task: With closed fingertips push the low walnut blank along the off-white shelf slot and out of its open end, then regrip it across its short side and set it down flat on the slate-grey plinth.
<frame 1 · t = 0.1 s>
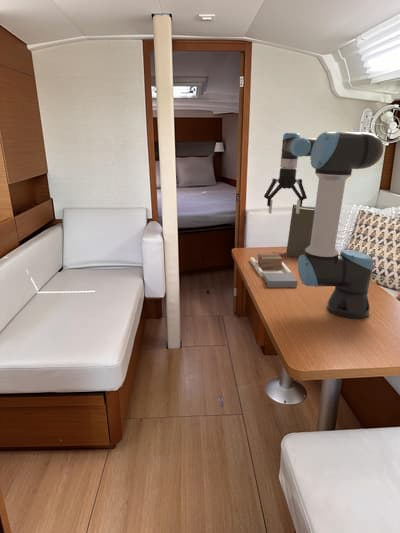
hand: (283, 213, 178), 28 cm above the table, fingers open, 13 cm apart
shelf: (269, 270, 183), on the table
blank: (269, 267, 183), point 1 cm above the table, touching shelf
plinth: (279, 283, 167), on the table
book: (306, 257, 205), on the table
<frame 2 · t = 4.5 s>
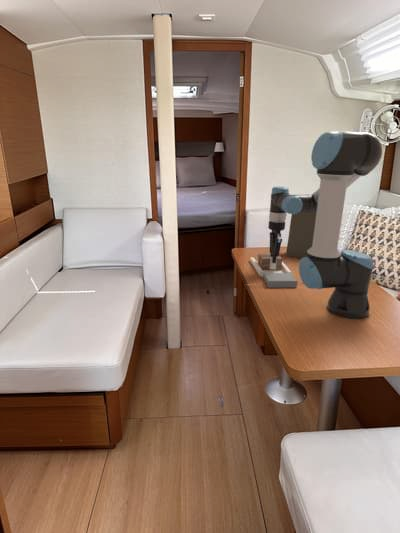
hand: (272, 268, 177), 3 cm above the table, fingers closed
blank: (269, 267, 183), point 1 cm above the table, touching gripper, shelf
everything else where it was.
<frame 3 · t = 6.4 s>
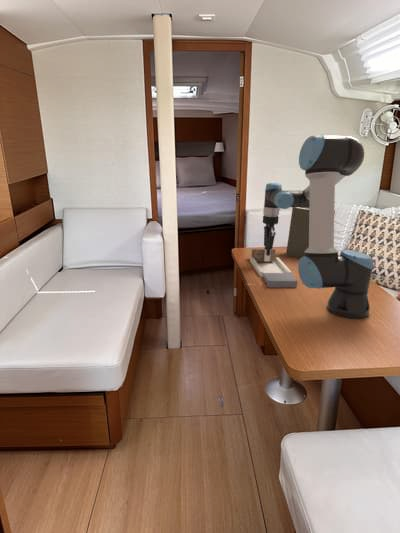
hand: (266, 260, 188), 3 cm above the table, fingers closed
blank: (263, 260, 192), point 1 cm above the table, tilted 16°, touching gripper
everything else where it was.
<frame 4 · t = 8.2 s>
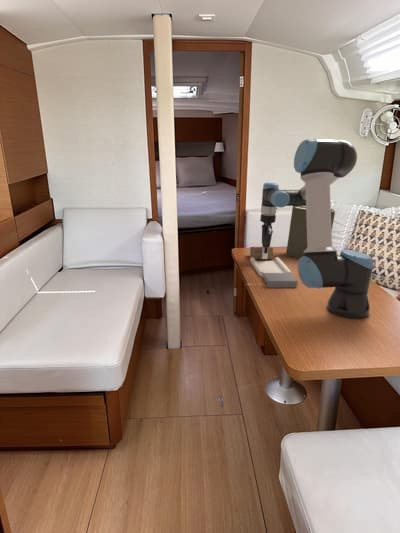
hand: (264, 258, 192), 2 cm above the table, fingers closed
blank: (261, 258, 198), point 1 cm above the table, tilted 13°, touching gripper
everything else where it was.
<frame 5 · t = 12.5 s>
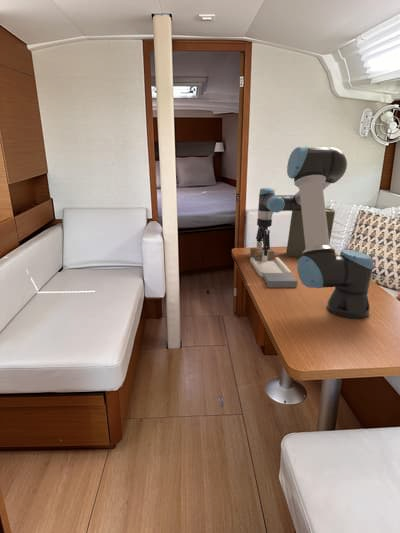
hand: (261, 257, 198), 1 cm above the table, fingers open, 13 cm apart
blank: (261, 260, 198), on the table
everything else where it was.
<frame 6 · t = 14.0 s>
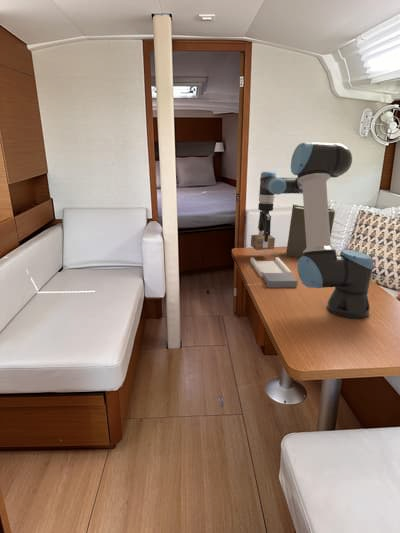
hand: (262, 245, 196), 8 cm above the table, fingers closed on blank, 9 cm apart
blank: (262, 247, 196), point 7 cm above the table, touching gripper
everything else where it was.
when the fingers open (4 cm above the table, at t = 19.0 s): blank stays where it is, resting on plinth.
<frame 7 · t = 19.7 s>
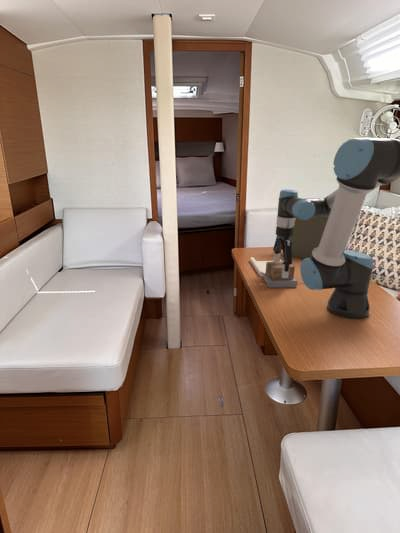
hand: (280, 272, 165), 5 cm above the table, fingers open, 13 cm apart
blank: (279, 276, 166), point 3 cm above the table, touching plinth
everything else where it was.
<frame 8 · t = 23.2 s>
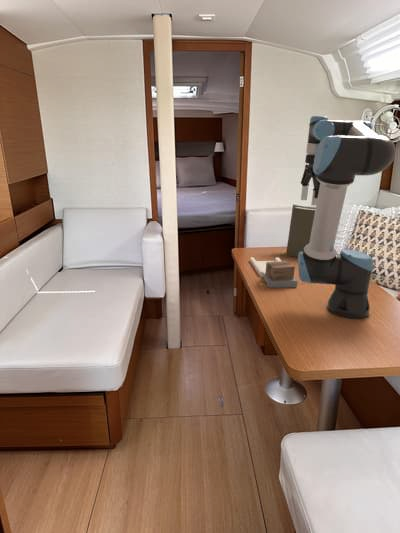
hand: (308, 202, 168), 35 cm above the table, fingers open, 13 cm apart
nothing on the table moved.
at the end: blank inside the target area on the plinth (0.3 cm from its centre), point 3.0 cm above the plinth's base; blank tilted 0°; the gripper is holding nothing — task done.
